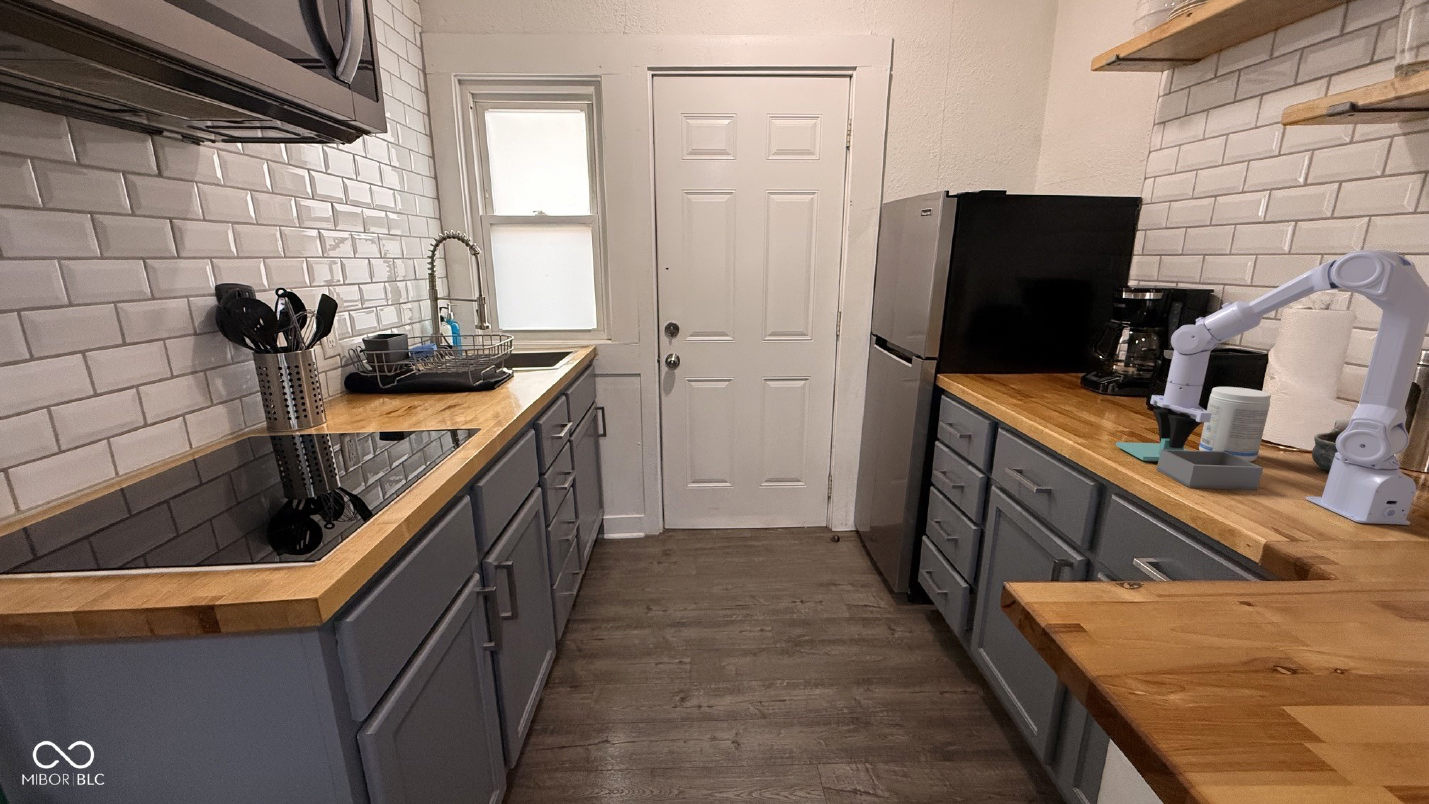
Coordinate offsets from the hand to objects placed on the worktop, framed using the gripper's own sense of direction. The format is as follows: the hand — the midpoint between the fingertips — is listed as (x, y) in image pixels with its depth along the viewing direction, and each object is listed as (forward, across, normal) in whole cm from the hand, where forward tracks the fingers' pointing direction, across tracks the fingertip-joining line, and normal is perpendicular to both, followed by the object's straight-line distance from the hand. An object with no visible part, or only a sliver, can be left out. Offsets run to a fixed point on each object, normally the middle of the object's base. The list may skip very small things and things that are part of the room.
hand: (1170, 445), depth 118 cm
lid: (+4, -3, 0) cm, 5 cm away
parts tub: (+3, +10, 0) cm, 11 cm away
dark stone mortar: (+4, +2, +31) cm, 31 cm away
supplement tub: (+4, -4, +15) cm, 16 cm away
